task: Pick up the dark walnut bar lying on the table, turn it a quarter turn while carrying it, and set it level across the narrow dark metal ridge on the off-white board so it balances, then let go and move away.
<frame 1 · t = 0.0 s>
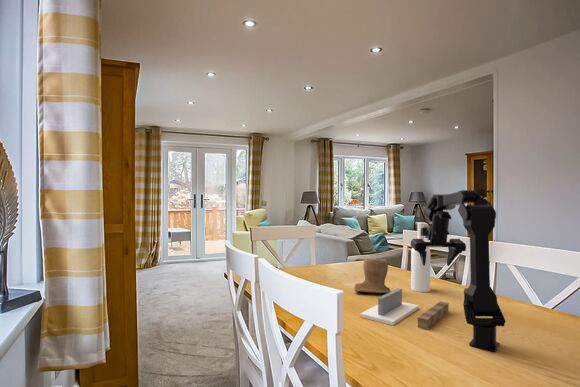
hand: (435, 265, 133), 15 cm above the table, tool pointing down, fingers open, 9 cm apart
bottle: (420, 290, 156), on the table
ridge: (390, 312, 126), on the table
walnut bar: (434, 319, 120), on the table
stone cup: (371, 292, 153), on the table
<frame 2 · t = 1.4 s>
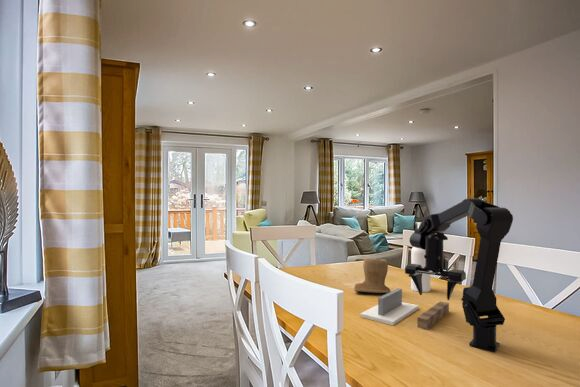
hand: (434, 297, 120), 7 cm above the table, tool pointing down, fingers open, 9 cm apart
nothing on the table moved.
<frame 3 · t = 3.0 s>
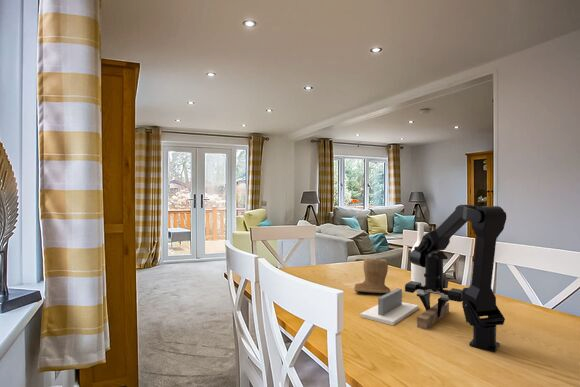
hand: (434, 315, 120), 1 cm above the table, tool pointing down, fingers closed on walnut bar, 3 cm apart
walnut bar: (434, 319, 120), on the table, touching gripper
everything else where it was.
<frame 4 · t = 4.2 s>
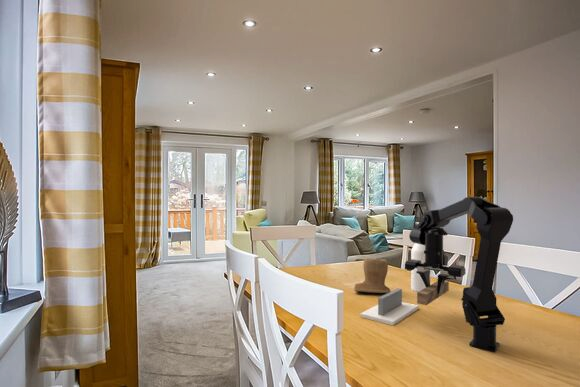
hand: (433, 292, 120), 9 cm above the table, tool pointing down, fingers closed on walnut bar, 3 cm apart
walnut bar: (433, 296, 120), point 8 cm above the table, touching gripper
everything else where it was.
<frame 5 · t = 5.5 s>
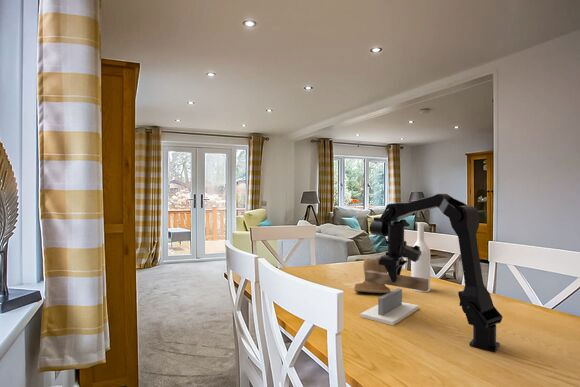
hand: (395, 281, 126), 11 cm above the table, tool pointing down, fingers closed on walnut bar, 3 cm apart
walnut bar: (395, 284, 126), point 10 cm above the table, touching gripper
everything else where it was.
when the fingers open (9 cm above the table, at t = 7.1 s): walnut bar stays where it is, resting on ridge.
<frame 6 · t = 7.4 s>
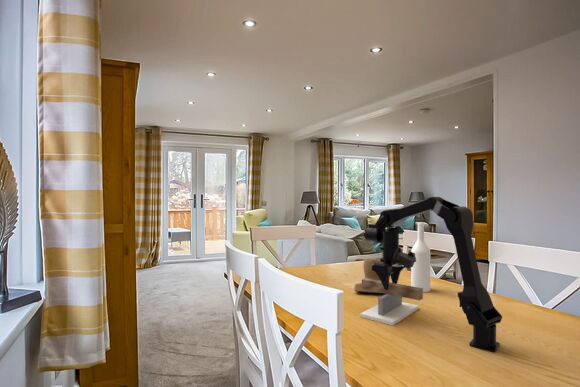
hand: (390, 287, 126), 9 cm above the table, tool pointing down, fingers open, 7 cm apart
walnut bar: (390, 293, 126), point 7 cm above the table, touching ridge
everything else where it was.
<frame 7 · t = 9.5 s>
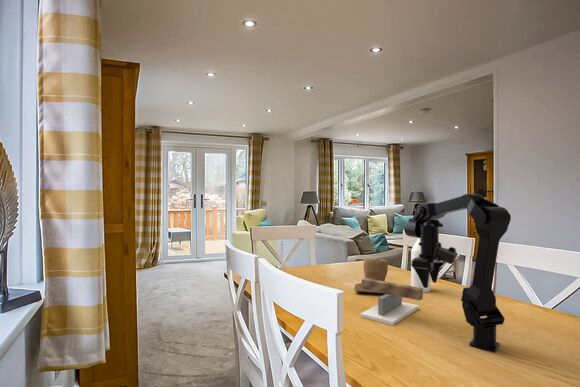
hand: (430, 285, 120), 12 cm above the table, tool pointing down, fingers open, 9 cm apart
nothing on the table moved.
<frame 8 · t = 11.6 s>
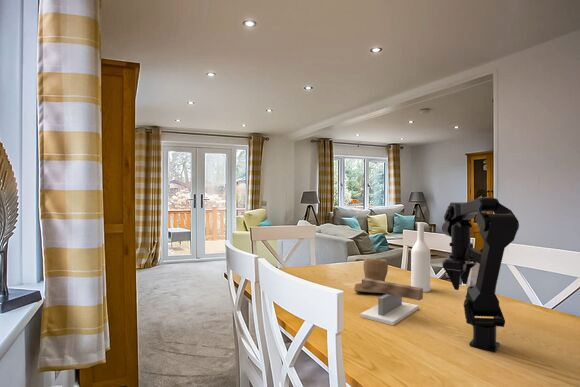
hand: (460, 286, 116), 12 cm above the table, tool pointing down, fingers open, 9 cm apart
nothing on the table moved.
at the end: walnut bar 0.1 cm off-centre on the ridge, point 7.0 cm above the ridge's base; walnut bar tilted 0°; walnut bar touching ridge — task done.
